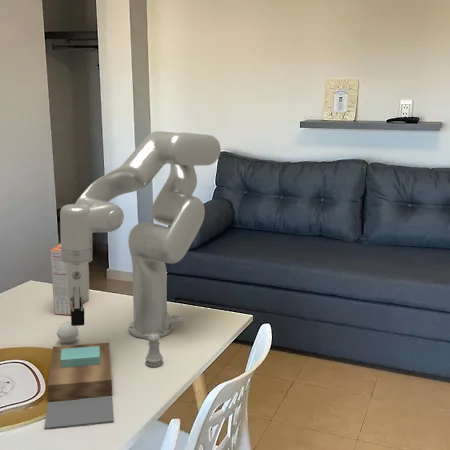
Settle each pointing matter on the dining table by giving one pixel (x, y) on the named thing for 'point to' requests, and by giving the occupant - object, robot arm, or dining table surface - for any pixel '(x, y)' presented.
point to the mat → (79, 412)
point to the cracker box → (59, 283)
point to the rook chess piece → (154, 351)
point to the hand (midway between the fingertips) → (77, 324)
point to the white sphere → (67, 332)
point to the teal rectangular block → (80, 356)
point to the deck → (79, 376)
